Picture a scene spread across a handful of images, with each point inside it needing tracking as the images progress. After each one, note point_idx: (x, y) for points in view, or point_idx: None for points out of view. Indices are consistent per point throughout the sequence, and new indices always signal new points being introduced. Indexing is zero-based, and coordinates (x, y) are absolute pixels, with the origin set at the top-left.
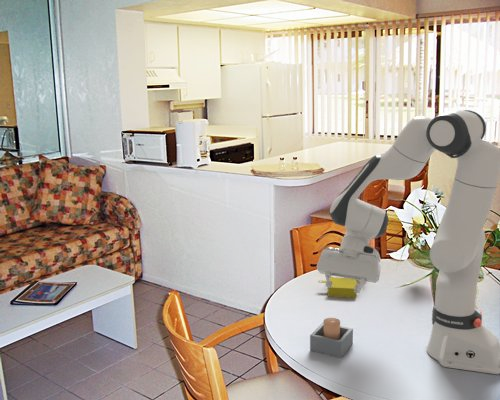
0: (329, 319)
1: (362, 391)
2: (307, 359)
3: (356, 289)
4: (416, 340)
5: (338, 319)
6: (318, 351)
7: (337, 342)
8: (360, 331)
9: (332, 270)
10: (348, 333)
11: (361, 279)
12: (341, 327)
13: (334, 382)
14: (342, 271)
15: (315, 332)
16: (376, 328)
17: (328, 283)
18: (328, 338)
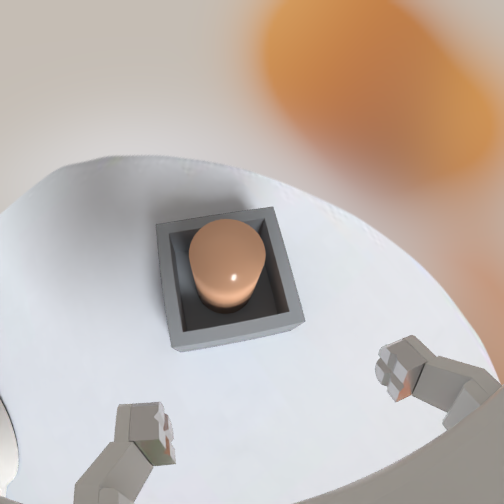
0: (247, 262)
1: (75, 165)
2: (239, 191)
3: (135, 408)
4: (49, 466)
5: (211, 285)
6: None
7: (170, 224)
8: (208, 444)
9: (481, 416)
10: (164, 298)
11: (104, 501)
12: (215, 327)
13: (133, 155)
14: (389, 487)
15: (271, 231)
16: (177, 490)
17: (404, 350)
18: (207, 222)
